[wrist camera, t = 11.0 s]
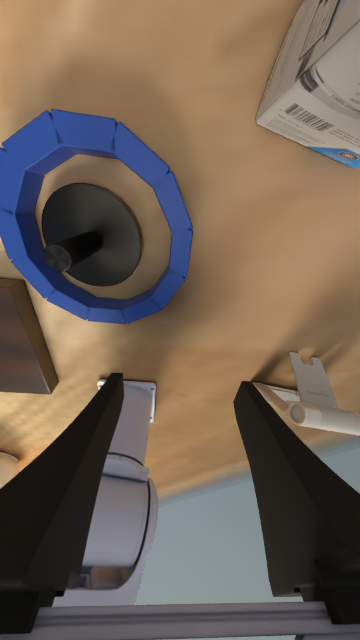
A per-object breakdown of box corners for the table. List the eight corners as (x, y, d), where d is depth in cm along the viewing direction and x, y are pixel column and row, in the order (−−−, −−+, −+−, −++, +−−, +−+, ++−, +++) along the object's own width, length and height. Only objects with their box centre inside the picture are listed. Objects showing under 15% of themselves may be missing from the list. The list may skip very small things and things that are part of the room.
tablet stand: (246, 387, 27) (270, 451, 20) (275, 347, 24) (317, 410, 16) (296, 397, 29) (335, 460, 22) (332, 361, 25) (394, 424, 18)
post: (142, 286, 19) (128, 321, 14) (60, 278, 18) (10, 311, 13) (142, 191, 15) (122, 185, 9) (36, 177, 14) (-52, 161, 9)
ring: (179, 317, 21) (180, 328, 19) (43, 305, 20) (29, 316, 18) (202, 142, 13) (206, 132, 11) (-18, 108, 12) (-53, 91, 10)
